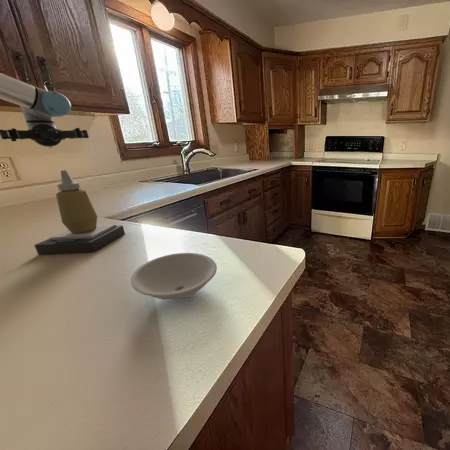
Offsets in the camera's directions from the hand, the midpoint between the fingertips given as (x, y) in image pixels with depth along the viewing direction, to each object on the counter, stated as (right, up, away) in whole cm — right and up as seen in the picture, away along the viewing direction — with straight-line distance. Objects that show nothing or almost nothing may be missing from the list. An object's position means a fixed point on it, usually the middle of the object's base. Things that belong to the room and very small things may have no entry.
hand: (48, 133), depth 73 cm
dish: (+52, -41, -24) cm, 70 cm away
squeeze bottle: (+10, -29, +1) cm, 31 cm away
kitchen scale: (+10, -33, +1) cm, 35 cm away
